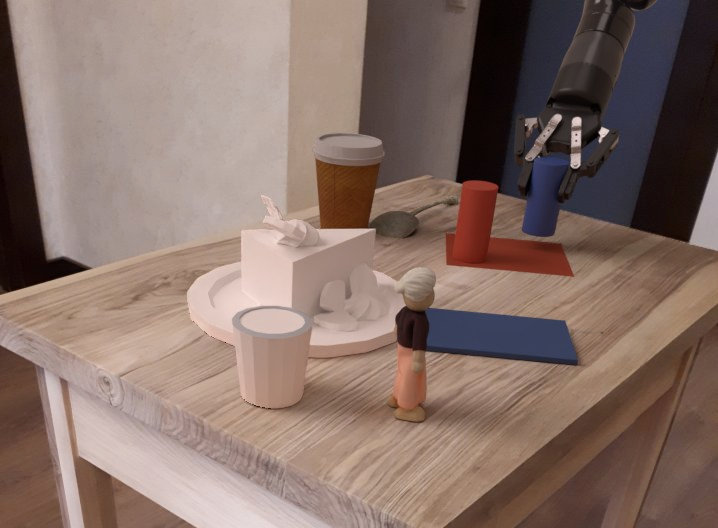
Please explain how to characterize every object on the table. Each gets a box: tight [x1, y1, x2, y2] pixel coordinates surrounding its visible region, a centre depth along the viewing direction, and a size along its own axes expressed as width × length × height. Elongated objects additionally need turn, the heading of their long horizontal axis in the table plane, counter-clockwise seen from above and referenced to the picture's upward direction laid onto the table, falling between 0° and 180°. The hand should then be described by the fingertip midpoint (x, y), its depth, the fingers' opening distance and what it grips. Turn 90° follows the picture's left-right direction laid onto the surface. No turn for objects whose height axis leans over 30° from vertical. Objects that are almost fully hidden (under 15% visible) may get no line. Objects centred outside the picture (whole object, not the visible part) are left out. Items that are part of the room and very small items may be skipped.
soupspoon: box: [369, 195, 460, 239], centre depth 115 cm, size 22×3×7 cm
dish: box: [186, 194, 406, 359], centre depth 84 cm, size 25×25×11 cm
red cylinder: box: [452, 180, 499, 263], centre depth 100 cm, size 4×4×9 cm
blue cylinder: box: [521, 156, 570, 238], centre depth 104 cm, size 4×4×9 cm
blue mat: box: [425, 307, 579, 366], centre depth 84 cm, size 16×10×1 cm, turn 84°
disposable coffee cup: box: [311, 132, 386, 229], centre depth 106 cm, size 10×10×12 cm
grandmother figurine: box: [386, 266, 437, 423], centre depth 67 cm, size 8×4×13 cm, turn 21°
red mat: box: [445, 232, 575, 278], centre depth 105 cm, size 16×13×1 cm
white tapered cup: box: [232, 306, 313, 409], centre depth 69 cm, size 7×7×7 cm
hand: (541, 195), depth 102 cm, fingers closed on blue cylinder, 4 cm apart
